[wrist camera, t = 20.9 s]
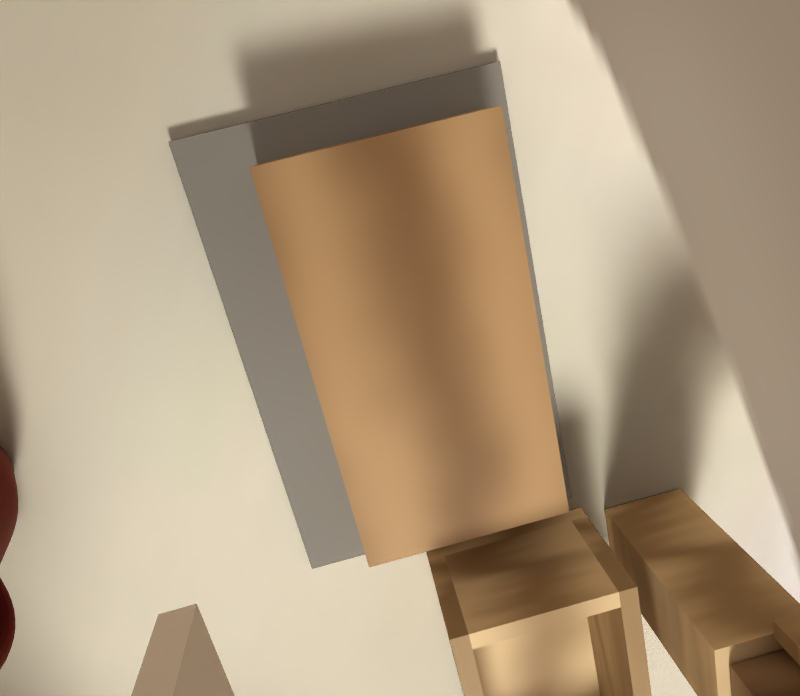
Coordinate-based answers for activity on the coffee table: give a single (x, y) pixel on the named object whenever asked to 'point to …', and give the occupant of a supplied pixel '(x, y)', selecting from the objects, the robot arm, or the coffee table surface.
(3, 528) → the mug
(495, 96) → the mat
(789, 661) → the key
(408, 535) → the lid
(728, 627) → the open wooden box
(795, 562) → the coffee table surface
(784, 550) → the coffee table surface
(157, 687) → the robot arm
